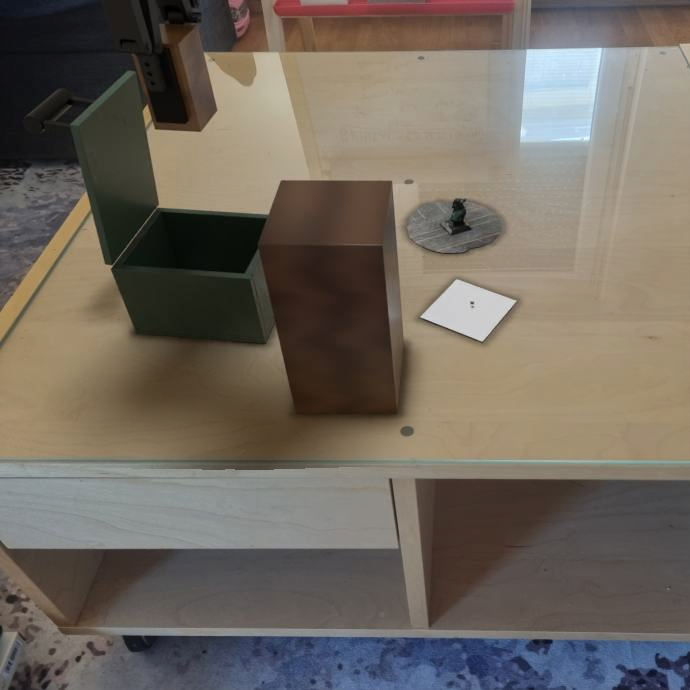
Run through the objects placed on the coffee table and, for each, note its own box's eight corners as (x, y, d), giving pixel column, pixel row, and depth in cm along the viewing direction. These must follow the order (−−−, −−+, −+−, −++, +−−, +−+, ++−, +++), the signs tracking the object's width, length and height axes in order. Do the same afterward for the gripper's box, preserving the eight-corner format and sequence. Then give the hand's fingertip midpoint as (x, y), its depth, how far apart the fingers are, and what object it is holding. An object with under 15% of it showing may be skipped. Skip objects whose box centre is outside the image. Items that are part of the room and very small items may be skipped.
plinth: (295, 413, 73) (257, 244, 59) (311, 343, 80) (280, 179, 67) (397, 413, 73) (382, 245, 59) (404, 344, 80) (392, 180, 67)
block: (200, 132, 68) (178, 44, 63) (154, 129, 68) (128, 41, 63) (217, 110, 71) (197, 24, 66) (173, 108, 72) (149, 23, 66)
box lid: (136, 71, 73) (64, 59, 73) (78, 125, 65) (-2, 112, 65) (159, 204, 84) (97, 193, 84) (112, 266, 75) (43, 253, 75)
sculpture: (515, 219, 99) (501, 198, 91) (486, 281, 98) (469, 266, 91) (439, 189, 103) (418, 167, 95) (410, 249, 102) (388, 232, 95)
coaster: (419, 317, 83) (419, 311, 83) (456, 279, 88) (456, 273, 88) (482, 341, 80) (482, 336, 80) (516, 301, 85) (517, 295, 85)
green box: (295, 278, 89) (282, 215, 83) (265, 343, 80) (249, 278, 74) (177, 269, 90) (157, 207, 84) (135, 333, 82) (110, 268, 76)
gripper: (92, -181, 47) (186, 157, 62) (196, -217, 59) (252, 71, 75) (-21, -183, 47) (101, 152, 63) (106, -218, 60) (181, 68, 76)
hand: (183, 108), depth 69 cm, fingers closed on block, 4 cm apart
